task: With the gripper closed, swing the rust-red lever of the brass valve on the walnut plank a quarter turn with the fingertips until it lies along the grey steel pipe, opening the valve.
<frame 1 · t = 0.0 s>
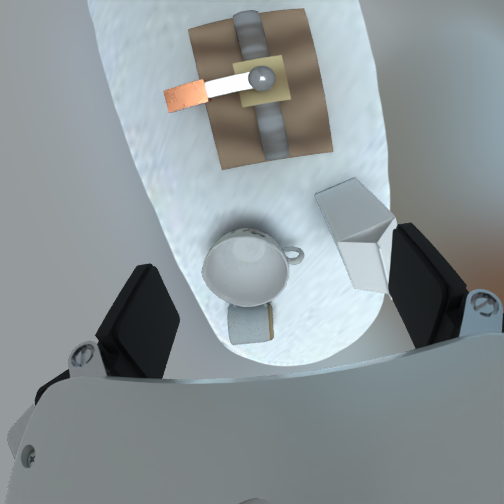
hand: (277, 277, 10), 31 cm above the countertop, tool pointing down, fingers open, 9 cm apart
valve lever: (220, 87, 25), point 10 cm above the countertop, hinge at 0.0°
teacup: (255, 245, 46), on the countertop
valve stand: (262, 84, 32), on the countertop
milk carton: (342, 204, 41), on the countertop
ceramic mug: (249, 304, 53), on the countertop
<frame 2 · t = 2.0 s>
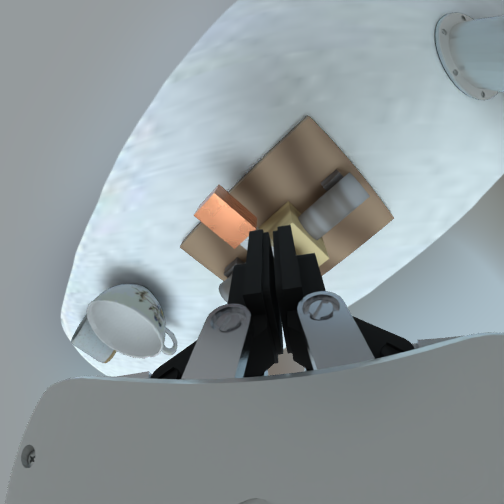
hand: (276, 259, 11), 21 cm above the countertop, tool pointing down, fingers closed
valve lever: (258, 243, 24), point 10 cm above the countertop, hinge at 0.0°
teacup: (146, 301, 42), on the countertop
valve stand: (286, 226, 33), on the countertop
ceramic mug: (105, 320, 46), on the countertop
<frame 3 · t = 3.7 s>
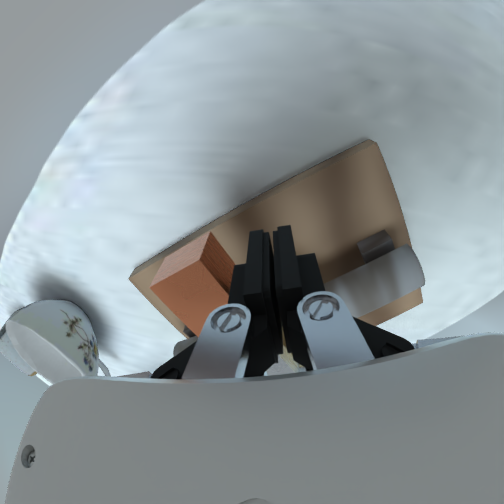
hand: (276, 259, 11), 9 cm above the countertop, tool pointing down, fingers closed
valve lever: (255, 343, 13), point 10 cm above the countertop, hinge at 0.3°, touching gripper
teacup: (80, 322, 28), on the countertop
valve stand: (286, 284, 23), on the countertop
ceramic mug: (35, 325, 31), on the countertop
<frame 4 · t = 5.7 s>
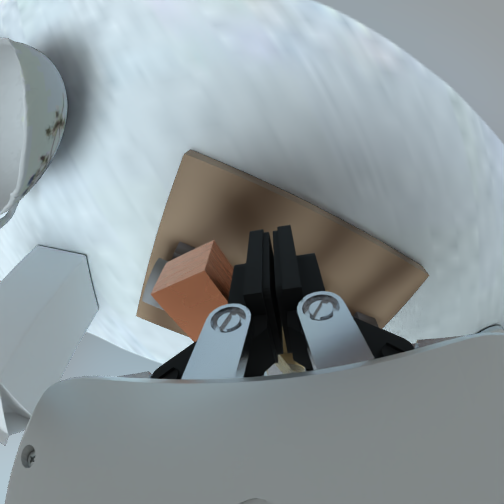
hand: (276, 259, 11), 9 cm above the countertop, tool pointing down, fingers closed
valve lever: (251, 351, 13), point 10 cm above the countertop, hinge at 53.0°, touching gripper
teacup: (43, 124, 16), on the countertop
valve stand: (279, 290, 23), on the countertop
milk carton: (68, 276, 24), on the countertop
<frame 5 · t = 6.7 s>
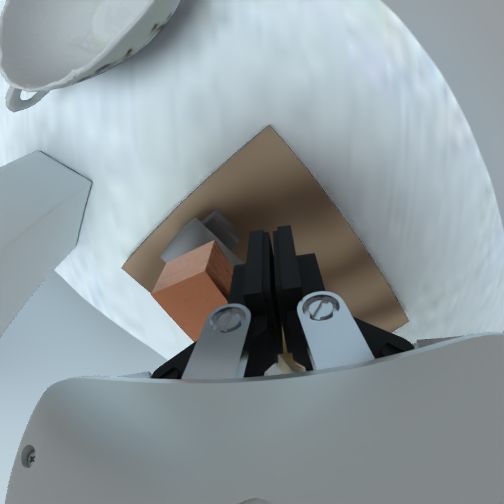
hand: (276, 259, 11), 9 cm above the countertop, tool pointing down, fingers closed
valve lever: (251, 351, 13), point 10 cm above the countertop, hinge at 76.4°, touching gripper
teacup: (118, 23, 12), on the countertop
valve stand: (280, 290, 23), on the countertop
milk carton: (57, 197, 20), on the countertop
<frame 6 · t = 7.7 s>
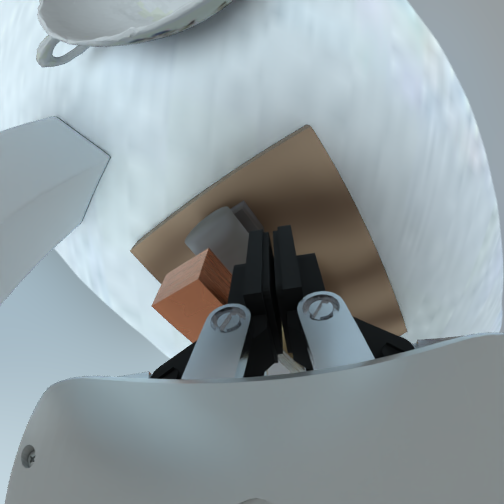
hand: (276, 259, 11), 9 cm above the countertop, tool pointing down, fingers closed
valve lever: (259, 353, 13), point 10 cm above the countertop, hinge at 90.0°
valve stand: (289, 290, 23), on the countertop
milk carton: (68, 169, 18), on the countertop
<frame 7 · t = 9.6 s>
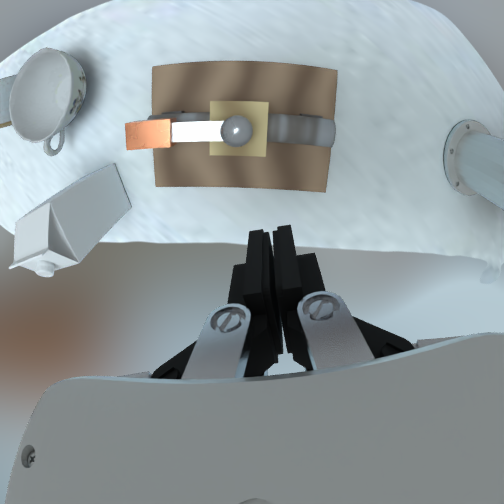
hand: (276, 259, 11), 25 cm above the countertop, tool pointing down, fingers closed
valve lever: (188, 131, 22), point 10 cm above the countertop, hinge at 90.0°
teacup: (71, 99, 28), on the countertop
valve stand: (241, 123, 31), on the countertop
milk carton: (105, 191, 35), on the countertop
ceramic mug: (28, 95, 26), on the countertop
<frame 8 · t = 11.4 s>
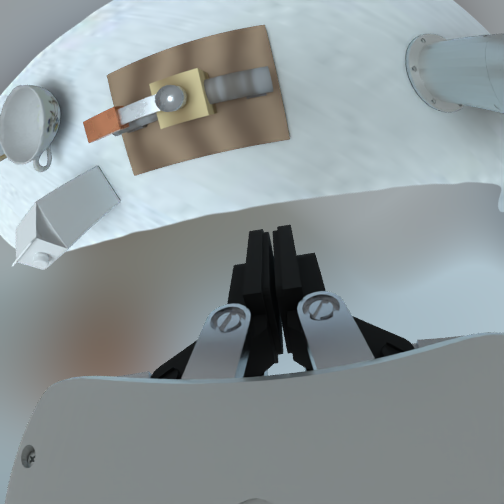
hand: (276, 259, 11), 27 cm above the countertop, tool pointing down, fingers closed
valve lever: (132, 112, 23), point 10 cm above the countertop, hinge at 90.0°
teacup: (51, 123, 32), on the countertop
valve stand: (194, 98, 31), on the countertop
milk carton: (96, 193, 39), on the countertop
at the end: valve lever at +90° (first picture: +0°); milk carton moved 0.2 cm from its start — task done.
